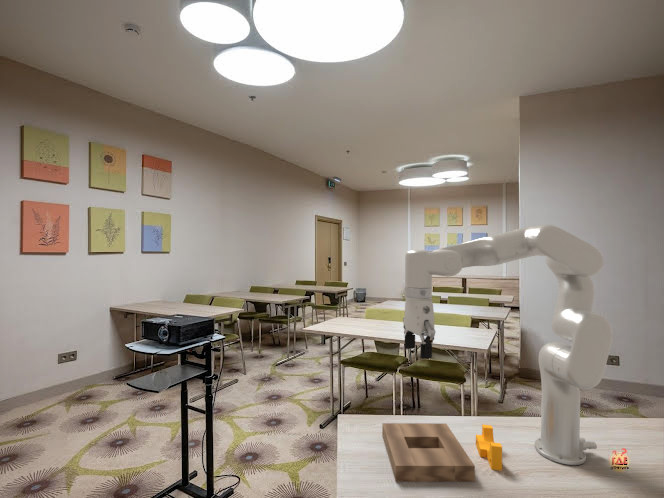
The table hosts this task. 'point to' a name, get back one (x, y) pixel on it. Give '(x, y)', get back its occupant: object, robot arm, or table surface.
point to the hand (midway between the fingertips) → (417, 353)
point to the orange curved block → (489, 448)
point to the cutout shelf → (426, 453)
